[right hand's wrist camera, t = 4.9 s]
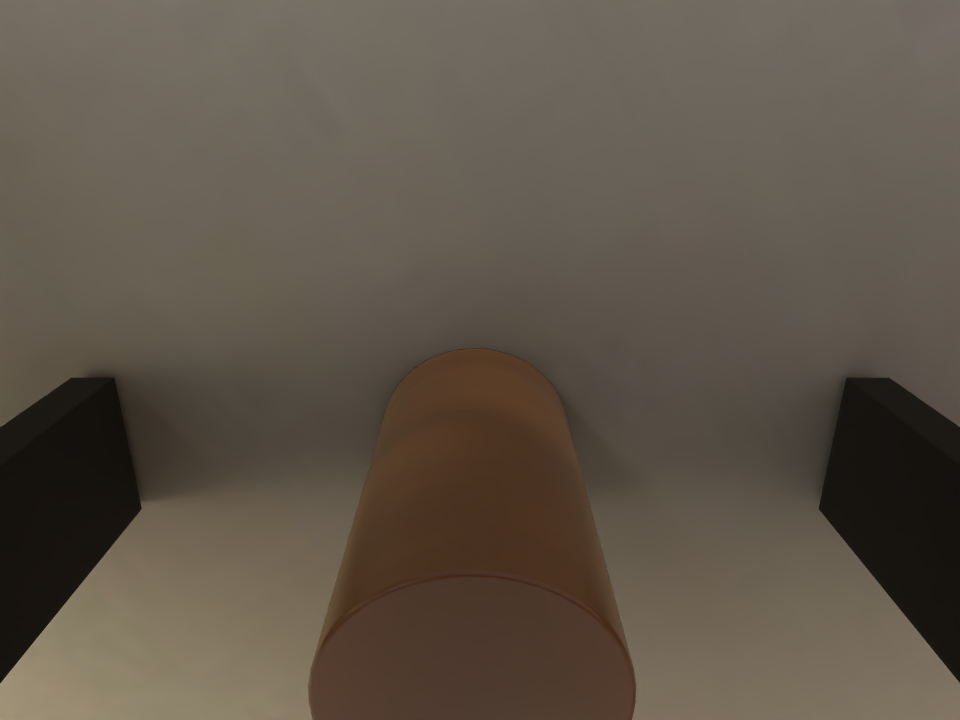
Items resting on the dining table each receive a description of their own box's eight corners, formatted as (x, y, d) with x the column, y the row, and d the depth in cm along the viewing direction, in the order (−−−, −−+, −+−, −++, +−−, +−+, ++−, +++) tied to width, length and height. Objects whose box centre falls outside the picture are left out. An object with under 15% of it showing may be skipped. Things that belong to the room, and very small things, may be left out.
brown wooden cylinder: (387, 511, 13) (321, 819, 8) (377, 347, 12) (290, 571, 6) (563, 511, 13) (624, 817, 8) (571, 347, 12) (652, 571, 6)
